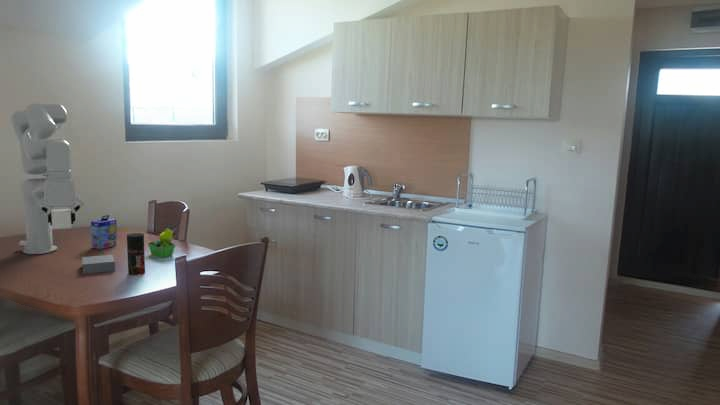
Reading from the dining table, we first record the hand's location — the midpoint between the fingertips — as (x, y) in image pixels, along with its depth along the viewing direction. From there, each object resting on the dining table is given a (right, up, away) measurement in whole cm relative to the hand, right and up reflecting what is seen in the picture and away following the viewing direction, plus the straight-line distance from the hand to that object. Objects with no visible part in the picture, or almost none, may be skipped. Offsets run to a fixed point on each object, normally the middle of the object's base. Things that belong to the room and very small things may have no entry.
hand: (62, 223), depth 194 cm
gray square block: (+7, -18, +12) cm, 23 cm away
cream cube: (0, -1, 0) cm, 1 cm away
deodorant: (+24, -19, +8) cm, 32 cm away
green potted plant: (+24, -15, +34) cm, 45 cm away
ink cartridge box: (-6, -12, +45) cm, 47 cm away
